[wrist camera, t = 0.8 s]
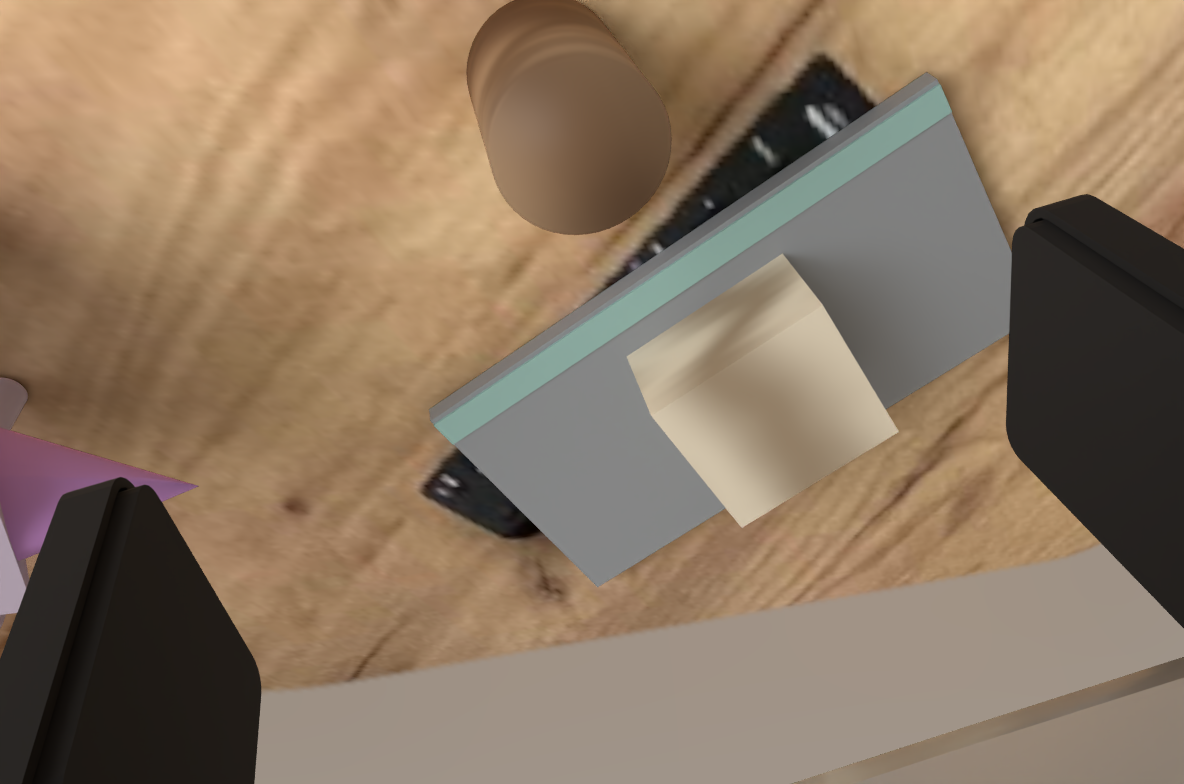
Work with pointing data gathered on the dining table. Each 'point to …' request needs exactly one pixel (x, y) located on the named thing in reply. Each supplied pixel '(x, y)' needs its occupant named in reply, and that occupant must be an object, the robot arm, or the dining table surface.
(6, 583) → the purple legged toy creature
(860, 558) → the dining table surface
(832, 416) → the birch pedestal
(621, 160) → the walnut drum
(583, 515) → the slate board
